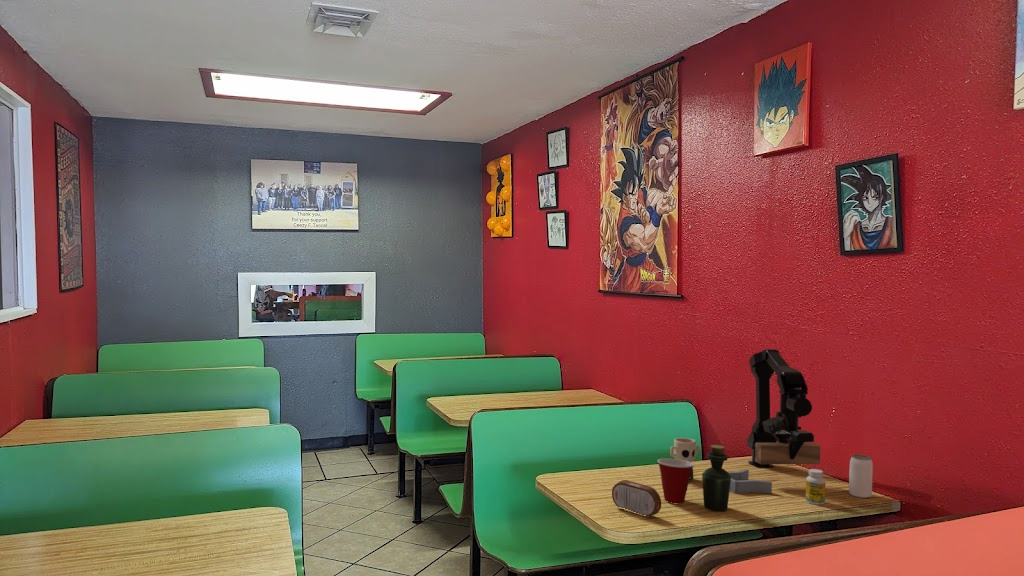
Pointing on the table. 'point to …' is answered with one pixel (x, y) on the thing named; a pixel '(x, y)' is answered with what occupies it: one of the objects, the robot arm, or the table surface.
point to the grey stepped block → (748, 483)
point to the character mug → (685, 450)
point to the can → (860, 476)
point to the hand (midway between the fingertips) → (787, 457)
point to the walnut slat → (786, 454)
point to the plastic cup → (675, 478)
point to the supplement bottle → (815, 487)
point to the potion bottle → (716, 481)
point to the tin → (636, 497)
